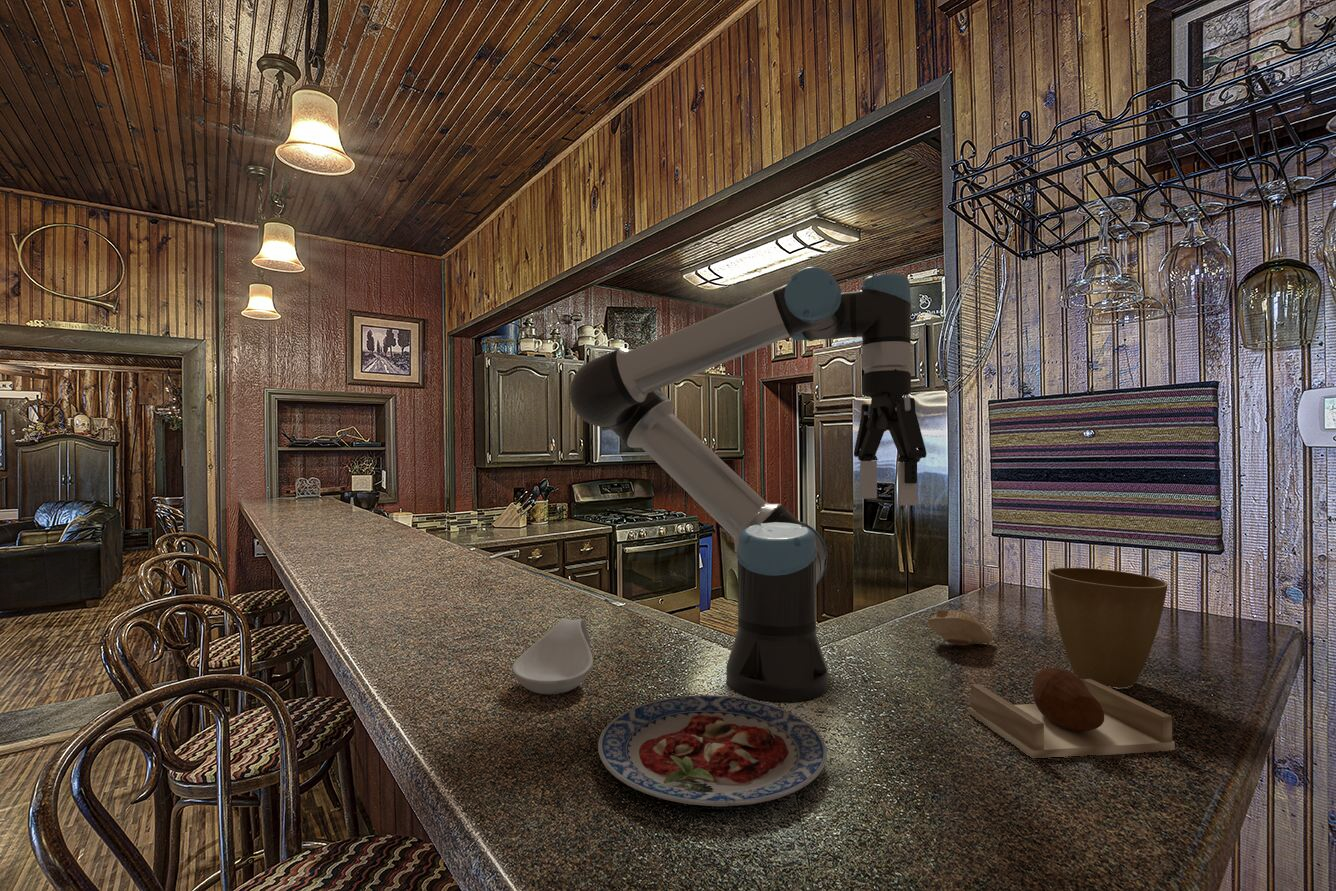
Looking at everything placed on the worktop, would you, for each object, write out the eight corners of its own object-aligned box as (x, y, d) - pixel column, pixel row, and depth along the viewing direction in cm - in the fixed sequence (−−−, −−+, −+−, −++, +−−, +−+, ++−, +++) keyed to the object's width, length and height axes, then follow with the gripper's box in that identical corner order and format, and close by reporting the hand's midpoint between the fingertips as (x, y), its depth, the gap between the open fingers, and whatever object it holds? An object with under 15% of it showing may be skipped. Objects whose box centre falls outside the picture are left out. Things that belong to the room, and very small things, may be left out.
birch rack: (1031, 759, 70) (1031, 724, 70) (968, 714, 82) (968, 684, 82) (1174, 750, 72) (1174, 716, 72) (1092, 708, 84) (1092, 678, 84)
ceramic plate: (689, 696, 89) (689, 675, 89) (863, 750, 73) (863, 724, 73) (549, 767, 69) (549, 740, 69) (748, 863, 53) (748, 828, 53)
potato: (1070, 745, 72) (1070, 689, 72) (1013, 704, 83) (1013, 656, 83) (1122, 744, 72) (1122, 688, 72) (1058, 704, 83) (1057, 655, 83)
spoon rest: (585, 705, 86) (585, 654, 86) (501, 704, 86) (501, 652, 86) (609, 650, 109) (609, 610, 109) (543, 649, 110) (543, 609, 110)
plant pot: (1114, 705, 85) (1114, 589, 85) (1025, 668, 100) (1025, 569, 100) (1194, 694, 89) (1194, 583, 89) (1098, 660, 103) (1097, 564, 104)
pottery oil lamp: (1011, 652, 108) (1010, 611, 108) (952, 658, 105) (952, 616, 105) (973, 637, 116) (973, 599, 116) (919, 642, 113) (918, 604, 113)
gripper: (951, 360, 89) (952, 508, 89) (874, 380, 114) (874, 495, 114) (902, 360, 88) (902, 508, 88) (835, 380, 113) (835, 496, 113)
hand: (886, 501), depth 101 cm, fingers open, 13 cm apart
